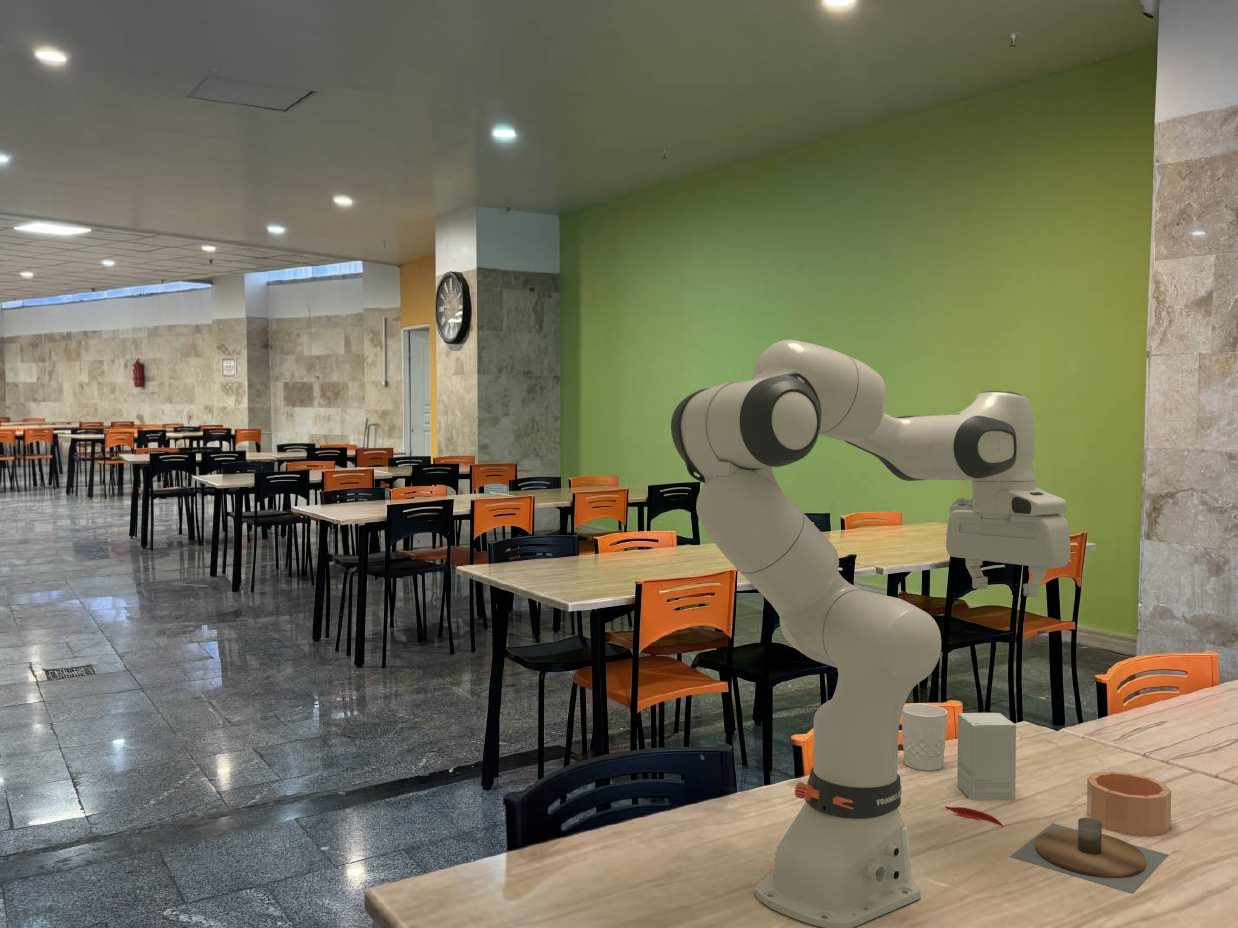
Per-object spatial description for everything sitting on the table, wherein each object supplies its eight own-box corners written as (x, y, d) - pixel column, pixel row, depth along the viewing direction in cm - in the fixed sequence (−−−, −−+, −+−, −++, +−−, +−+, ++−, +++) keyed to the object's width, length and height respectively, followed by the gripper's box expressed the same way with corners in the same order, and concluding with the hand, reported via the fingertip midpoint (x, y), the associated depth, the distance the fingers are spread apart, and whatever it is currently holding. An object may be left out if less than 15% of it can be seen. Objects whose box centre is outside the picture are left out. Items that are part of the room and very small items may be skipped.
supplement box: (1016, 802, 161) (1017, 725, 160) (970, 801, 161) (971, 724, 160) (1000, 785, 168) (1001, 711, 168) (956, 785, 168) (956, 711, 168)
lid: (1127, 888, 130) (1127, 852, 130) (1019, 856, 140) (1020, 822, 139) (1158, 854, 140) (1159, 821, 140) (1056, 826, 150) (1057, 795, 149)
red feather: (934, 810, 158) (934, 798, 158) (957, 805, 160) (957, 794, 160) (990, 838, 147) (990, 825, 147) (1013, 833, 149) (1013, 821, 149)
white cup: (892, 759, 181) (892, 705, 181) (929, 755, 183) (929, 701, 183) (917, 774, 173) (918, 717, 173) (955, 769, 176) (956, 713, 175)
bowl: (1156, 844, 144) (1157, 803, 144) (1077, 823, 152) (1078, 784, 152) (1178, 822, 152) (1178, 783, 152) (1102, 803, 160) (1102, 766, 160)
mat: (1132, 896, 128) (1132, 893, 128) (1009, 858, 140) (1009, 856, 140) (1168, 857, 140) (1168, 854, 140) (1052, 825, 151) (1052, 823, 151)
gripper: (935, 498, 156) (937, 586, 156) (1046, 504, 138) (1048, 603, 138) (964, 496, 159) (966, 582, 159) (1076, 501, 141) (1078, 598, 141)
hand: (1005, 592), depth 149 cm, fingers open, 8 cm apart
